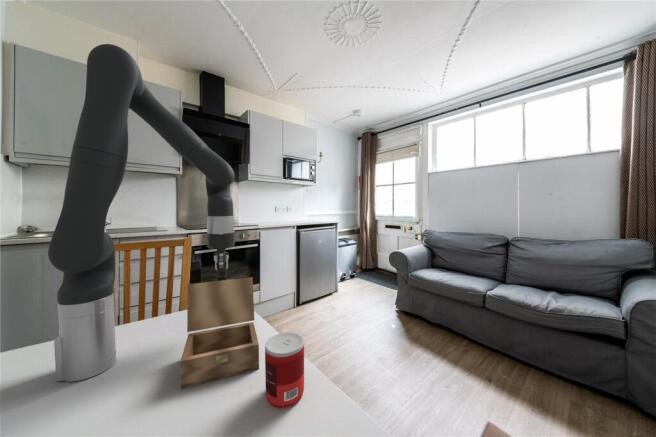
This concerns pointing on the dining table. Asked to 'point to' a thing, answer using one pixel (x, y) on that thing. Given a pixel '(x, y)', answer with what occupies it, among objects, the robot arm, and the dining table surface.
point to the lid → (219, 303)
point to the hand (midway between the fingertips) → (222, 288)
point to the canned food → (284, 369)
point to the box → (219, 354)
